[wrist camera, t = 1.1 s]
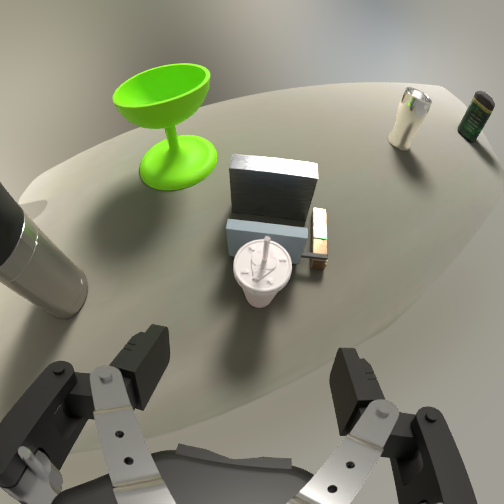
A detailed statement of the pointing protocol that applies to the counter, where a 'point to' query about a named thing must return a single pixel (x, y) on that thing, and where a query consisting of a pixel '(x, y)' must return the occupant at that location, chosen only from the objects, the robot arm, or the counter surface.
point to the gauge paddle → (281, 234)
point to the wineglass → (169, 123)
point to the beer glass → (409, 117)
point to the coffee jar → (476, 116)
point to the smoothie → (262, 270)
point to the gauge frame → (279, 193)
